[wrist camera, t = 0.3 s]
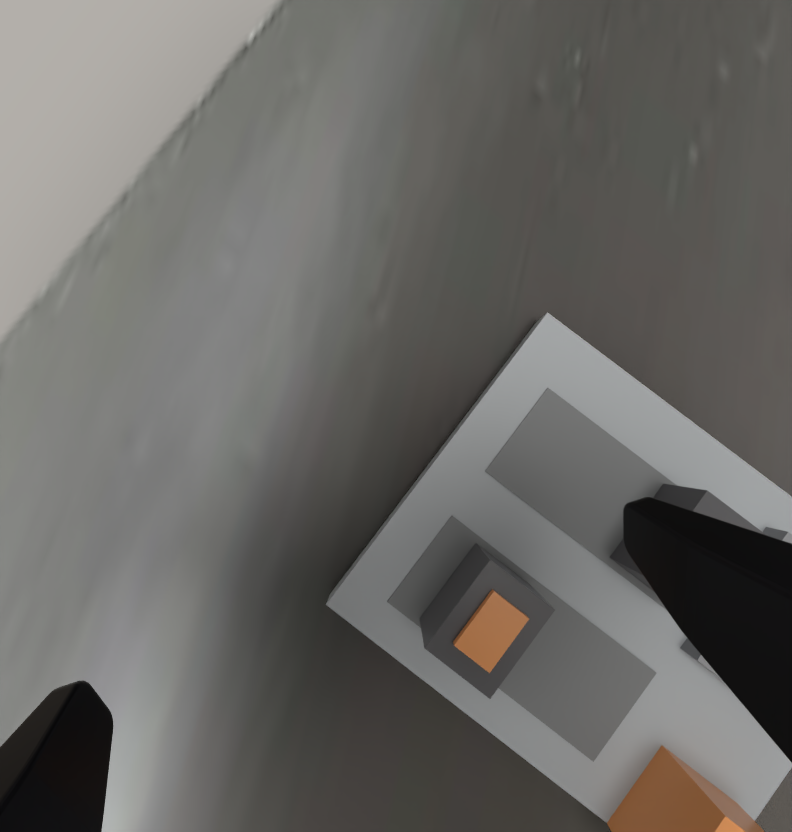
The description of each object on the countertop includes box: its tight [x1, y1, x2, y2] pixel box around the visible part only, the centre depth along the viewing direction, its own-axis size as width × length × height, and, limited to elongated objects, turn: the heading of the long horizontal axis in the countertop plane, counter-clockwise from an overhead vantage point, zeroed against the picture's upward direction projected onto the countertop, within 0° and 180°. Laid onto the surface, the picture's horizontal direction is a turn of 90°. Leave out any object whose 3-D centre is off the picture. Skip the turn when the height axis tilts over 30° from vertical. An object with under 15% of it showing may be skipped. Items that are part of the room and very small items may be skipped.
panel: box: [326, 313, 792, 823], centre depth 21 cm, size 20×16×5 cm
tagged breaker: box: [420, 543, 555, 699], centre depth 19 cm, size 3×4×3 cm
